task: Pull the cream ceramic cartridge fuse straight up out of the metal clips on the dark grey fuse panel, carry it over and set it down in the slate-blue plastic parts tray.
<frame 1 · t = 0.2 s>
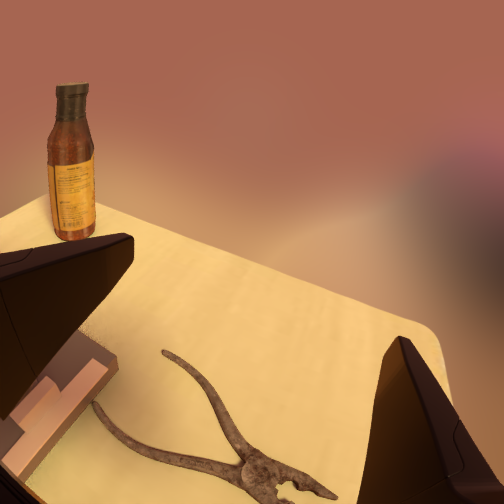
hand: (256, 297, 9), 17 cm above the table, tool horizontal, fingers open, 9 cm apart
fuse panel: (25, 400, 17), on the table
pliers: (223, 439, 21), on the table
sauce bottle: (74, 232, 37), on the table
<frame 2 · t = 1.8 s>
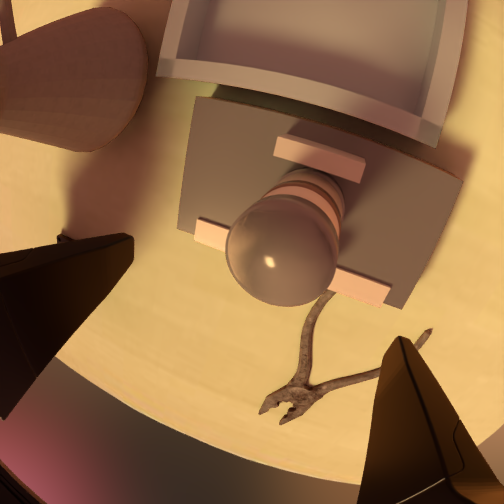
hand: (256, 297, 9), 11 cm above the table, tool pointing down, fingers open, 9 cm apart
fuse panel: (313, 194, 19), on the table
fuse: (308, 203, 17), point 2 cm above the table, touching fuse panel
pliers: (335, 373, 25), on the table
parts tray: (317, 12, 13), on the table
coffee pot: (121, 22, 17), on the table
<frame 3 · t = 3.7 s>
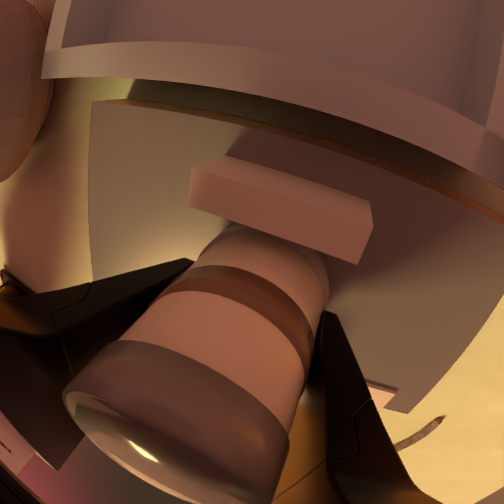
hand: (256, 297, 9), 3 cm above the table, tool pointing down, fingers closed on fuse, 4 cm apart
fuse panel: (281, 251, 12), on the table
fuse: (267, 276, 10), point 2 cm above the table, touching fuse panel, gripper
pliers: (318, 451, 19), on the table
coffee pot: (37, 12, 10), on the table
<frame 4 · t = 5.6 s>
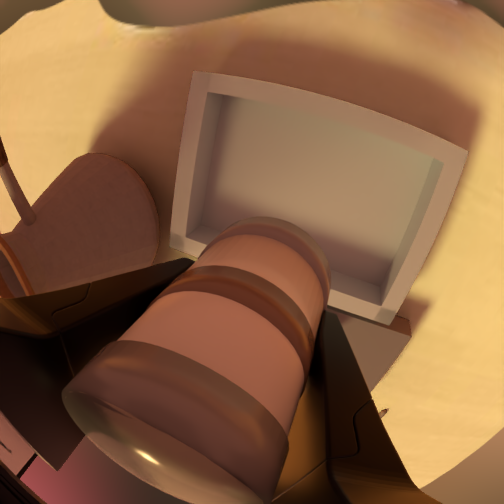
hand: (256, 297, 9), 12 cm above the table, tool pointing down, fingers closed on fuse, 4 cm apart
fuse panel: (297, 330, 25), on the table
fuse: (267, 277, 10), point 11 cm above the table, touching gripper
parts tray: (310, 188, 19), on the table
coffee pot: (125, 156, 23), on the table
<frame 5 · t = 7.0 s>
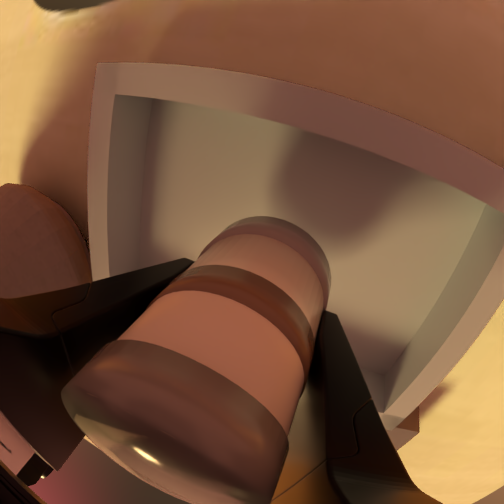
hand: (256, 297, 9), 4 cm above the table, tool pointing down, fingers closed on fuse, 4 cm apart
fuse panel: (273, 408, 18), on the table
fuse: (267, 276, 10), point 3 cm above the table, touching gripper
parts tray: (287, 240, 13), on the table
coffee pot: (53, 182, 16), on the table
when the fingers open (3 cm above the table, at t = 7.9 s): fuse drops 2 cm, resting on parts tray.
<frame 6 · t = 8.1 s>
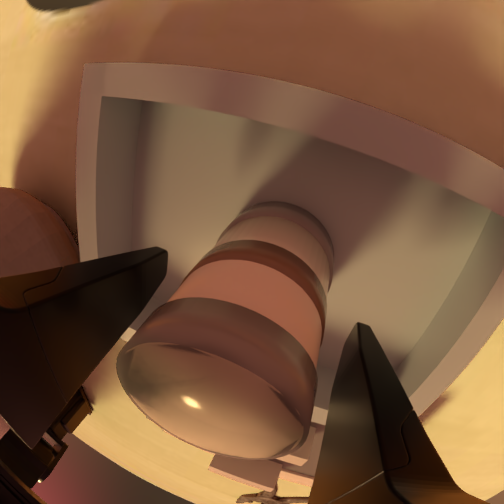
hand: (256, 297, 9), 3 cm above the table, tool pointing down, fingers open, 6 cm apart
fuse panel: (270, 416, 17), on the table
fuse: (277, 255, 11), point 1 cm above the table, touching parts tray
pliers: (299, 492, 24), on the table
parts tray: (283, 247, 12), on the table
coffee pot: (45, 186, 16), on the table
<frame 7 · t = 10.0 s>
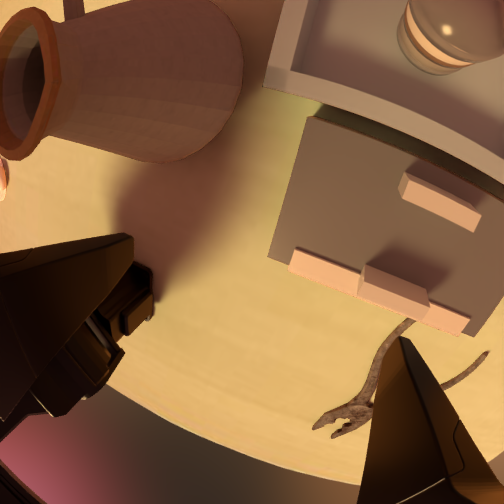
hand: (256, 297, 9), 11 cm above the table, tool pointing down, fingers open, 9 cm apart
fuse panel: (410, 229, 17), on the table
fuse: (431, 41, 11), point 1 cm above the table, touching parts tray
pliers: (395, 391, 24), on the table
teacup and saucer: (5, 192, 33), on the table
parts tray: (430, 43, 12), on the table
coffee pot: (195, 13, 16), on the table
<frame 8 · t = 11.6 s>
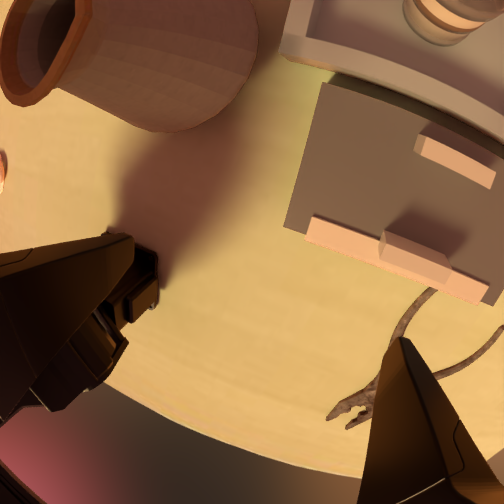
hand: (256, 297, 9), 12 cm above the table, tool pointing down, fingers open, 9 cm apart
fuse panel: (425, 196, 17), on the table
fuse: (435, 16, 11), point 1 cm above the table, touching parts tray
pliers: (412, 374, 24), on the table
teacup and saucer: (3, 185, 32), on the table
parts tray: (433, 18, 12), on the table
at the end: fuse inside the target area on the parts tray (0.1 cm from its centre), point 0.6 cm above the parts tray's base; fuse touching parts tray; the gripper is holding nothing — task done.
